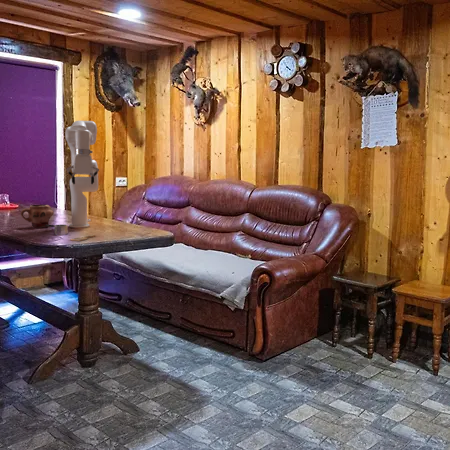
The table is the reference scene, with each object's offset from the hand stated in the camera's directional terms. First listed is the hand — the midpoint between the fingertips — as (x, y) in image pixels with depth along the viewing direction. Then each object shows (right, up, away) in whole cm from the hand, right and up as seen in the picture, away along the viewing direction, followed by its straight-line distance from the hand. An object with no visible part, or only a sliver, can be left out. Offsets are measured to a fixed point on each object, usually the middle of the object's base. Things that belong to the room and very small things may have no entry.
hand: (83, 184), depth 288 cm
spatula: (+1, -30, +1) cm, 30 cm away
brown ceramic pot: (-39, -24, +38) cm, 59 cm away
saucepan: (-20, -27, +16) cm, 37 cm away
